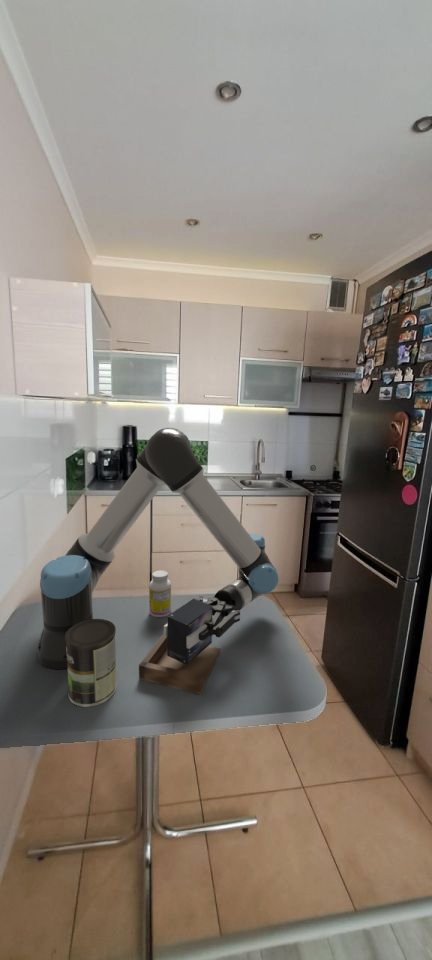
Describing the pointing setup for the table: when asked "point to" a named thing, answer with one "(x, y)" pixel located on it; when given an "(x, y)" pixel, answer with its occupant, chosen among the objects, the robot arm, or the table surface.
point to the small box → (187, 630)
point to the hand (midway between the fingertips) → (176, 636)
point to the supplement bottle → (160, 594)
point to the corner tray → (177, 668)
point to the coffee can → (91, 662)
